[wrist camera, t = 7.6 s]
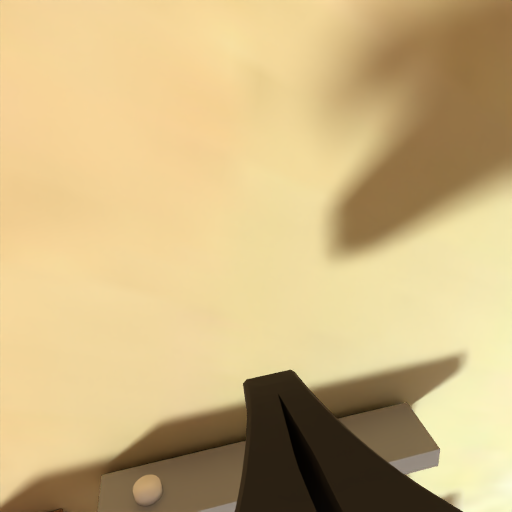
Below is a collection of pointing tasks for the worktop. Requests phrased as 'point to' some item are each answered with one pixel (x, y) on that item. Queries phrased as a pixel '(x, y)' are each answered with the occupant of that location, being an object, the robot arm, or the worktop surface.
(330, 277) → the worktop surface
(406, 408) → the tray
